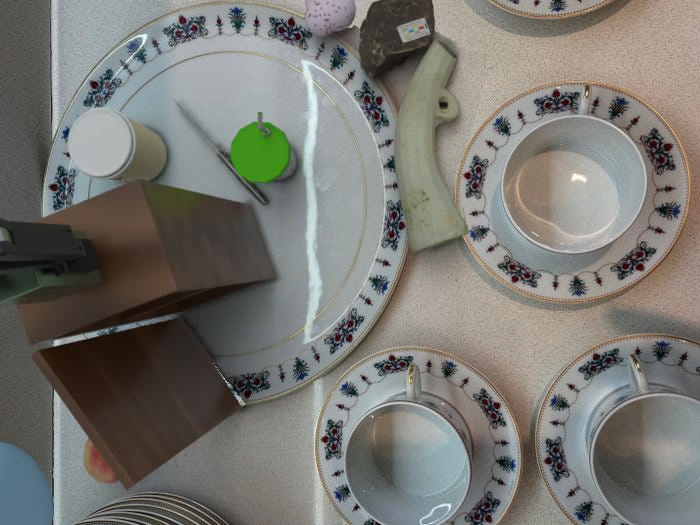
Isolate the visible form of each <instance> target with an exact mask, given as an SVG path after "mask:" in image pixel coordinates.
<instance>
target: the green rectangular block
mask: <svg viewBox="0 0 700 525" xmlns="http://www.w3.org/2000/svg"><path fill="white" fill-rule="evenodd" d="M72 232H73V234H74V237H75V239H88V238H87V235H86V232H85V231H82V230H72ZM100 283H102V279H101V276H100V273H99V270H98V269H97V270H94V271H74V272H68V273H67V274H64V275H61V276H57V277H55V275H54V272H51V273H49V271H48V268H47V269H39V270H31V271H24V272H16V273H8V274H0V308H2V307H10V306H11V307H13V306H17V305H22V304H30V303H39V302H48V301H56V300H59V299H61V298H64V297H66V296H69V295H72V294H74V293H77V292H79V291H82V290H85V289H87V288H90V287H92V286H95V285H98V284H100Z"/></svg>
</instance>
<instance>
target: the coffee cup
mask: <svg viewBox="0 0 700 525" xmlns="http://www.w3.org/2000/svg"><path fill="white" fill-rule="evenodd" d="M67 136H68V137H67V150H68V154H69V157H70V159H71V161H72V163H73V164H74V166H75V167H76V168H77V170H79V172H81V173H82V174H83V175H85V176H86V177H89V178H91V179H94V180H100V181H101V180H102V181H105V180H107V181H108V180H110V181H119V182H120V181H121V182H131V181H133V180H136V179H142V180H146V181H152V180H154V179H155V178H156V177H158V176H159V175H160V174H161V173H162V172H163V170H164V168H165V166H166V163H167V159H168V158H167V156H168V152H167V146H166V144H165V142H164V141H163V139H162V138H161V137H160V136H159V135H158V134H157V132H154V131H153V130H151V129H150V128H148V127H146V126H144V125H143V124H141V123H139V122H138V121H135V120H134V119H132V118H130V117H128V116H126V115H125V114H124V113H122V112H120V111H118V110H117V109H114V108H112V107H106V106H100V107H99V106H98V107H94V108H91V109H88V110H87V111H85V112H83V113H82V114H81V115H79V116H78V117H77V118H76V119H75V120H74V122H73V123H72V125H71V127H70V130H69V132H68V135H67Z"/></svg>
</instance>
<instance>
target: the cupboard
mask: <svg viewBox="0 0 700 525" xmlns="http://www.w3.org/2000/svg"><path fill="white" fill-rule="evenodd" d="M30 222H31V223H46V224H61V225H70V226H71V229H72V230H82V231H85V232H86V235H87V238H88V239H91V241H92V244H93V247H94V250H95V253H96V255H97V258H98V261H99V264H100V267H101V268H99V269H98V270H99V273H100V276H101V279H102V283H100V284H98V285H95V286H92V287H90V288H87V289H85V290H82V291H79V292H77V293H74V294H72V295H69V296H66V297H64V298H61V299H59V300H56V301H48V302H39V303H30V304H22V305H16V307H17V310H18V312H19V316H20V319H21V322H22V325H23V327H24V331H25V334H26V336H27V340H28V342H29V345H30V346H31V347H32V346H36V345H40V344H41V345H42V344H45V343H51V342H55V341H58V340H63V339H68V338H73V337H78V336H82V335H88V334H92V333H96V332H101V331H105V330H110V329H114V328H119V327H124V326H128V325H132V324H139V323H142V322H146V321H150V320H156V319H161V318H166V317H170V316H175V315H178V314H181V313H184V312H186V311H187V312H188V311H189V310H192V309H194V308H197V307H200V306H202V305H205V304H208V303H210V302H214V301H217V300H219V299H222V298H224V297H228V296H229V295H233V294H236V293H238V292H240V291H244V290H246V289H248V288H251V287H254V286H257V285H259V284H262V283H265V282H267V281H270V280H273V279H276V278H277V275H276V272H275V269H274V267H273V264H272V261H271V258H270V255H269V253H268V250H267V247H266V244H265V241H264V239H263V236H262V232H261V230H260V227H259V225H258V221H257V219H256V215H255V214H254V210H253V207H252V205H251V204H249V203H246V202H241V201H237V200H233V199H229V198H223V197H220V196H215V195H211V194H206V193H202V192H197V191H193V190H189V189H184V188H181V187H177V186H176V187H175V186H172V185H167V184H163V183H159V182H154V181H151V180H149V181H146V180H142V179H136V180H133V181H127V182H126V183H124V184H121V185H119V186H117V187H114V188H112V189H109V190H107V191H105V192H102V193H100V194H97V195H94V196H92V197H90V198H87V199H85V200H81V201H80V202H78V203H75V204H72V205H70V206H68V207H65V208H63V209H60V210H58V211H55V212H53V213H51V214H48V215H46V216H43V217H41V218H38V219H36V220H34V221H30Z"/></svg>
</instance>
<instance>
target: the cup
mask: <svg viewBox="0 0 700 525" xmlns="http://www.w3.org/2000/svg"><path fill="white" fill-rule="evenodd" d="M263 115H264V114H263V112H262V111H258V112H257V121H252V122H251V123H249V124H247V125H245V126H243V127H241V128H240V129H239V130H238V131H237V133H236V135H235V136H234V138H233V139H232V141H231V143H230V155H229V156H230V159H231V161H232V163H233V166H234V168H235V170H236V172H237V173H238V174H239V175H241V176H242V177H243V178H245V179H246V180H248V181H249V182H252V183H254V184H270V183H271V182H273V181H279V180H285V179H287V178H289V177H291V176H292V175H293V173H294V172H295V170H296V169H297V162H298V161H297V160H298V159H297V157H296V155H295V153H294V152H293V149H292V146H291V143H290V142H289V139H288V137H287V135H286V133H285V131H283V130H281V129H280V128H279V127H278V126H275V125H274V124H273V123H271V122H269V121H263Z"/></svg>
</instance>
